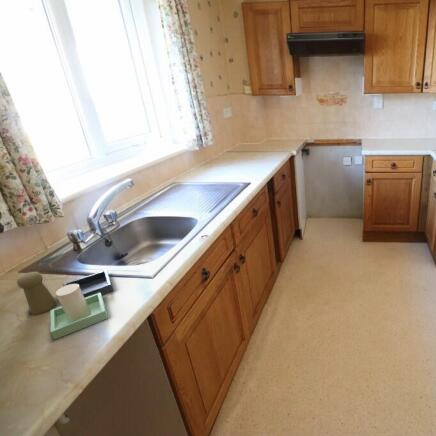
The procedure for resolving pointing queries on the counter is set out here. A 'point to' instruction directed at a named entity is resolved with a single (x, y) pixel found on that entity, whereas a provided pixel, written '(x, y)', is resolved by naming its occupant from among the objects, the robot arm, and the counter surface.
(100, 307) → the light tray
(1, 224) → the robot arm
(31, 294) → the cork
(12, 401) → the counter surface
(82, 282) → the dark tray
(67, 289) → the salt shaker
